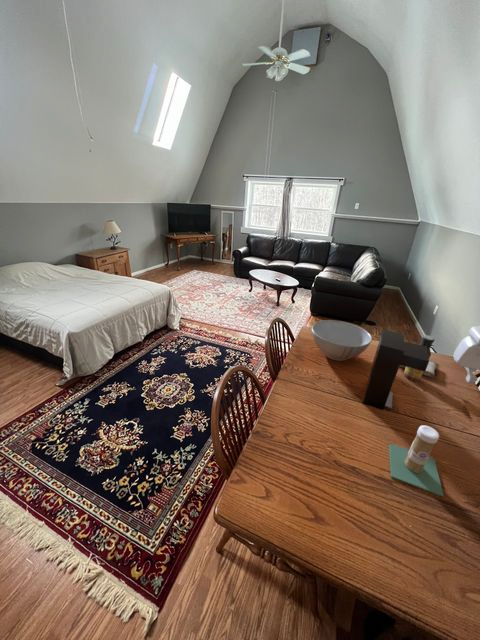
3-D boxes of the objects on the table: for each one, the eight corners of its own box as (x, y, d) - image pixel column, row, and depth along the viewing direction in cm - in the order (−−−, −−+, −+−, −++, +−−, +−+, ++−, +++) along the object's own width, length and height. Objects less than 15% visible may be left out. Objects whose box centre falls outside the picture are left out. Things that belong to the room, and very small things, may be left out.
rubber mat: (434, 459, 78) (434, 458, 78) (443, 497, 68) (443, 495, 68) (388, 444, 83) (389, 443, 83) (391, 477, 73) (391, 476, 73)
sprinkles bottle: (408, 472, 74) (424, 437, 68) (401, 458, 78) (415, 423, 72) (426, 474, 73) (443, 439, 68) (417, 459, 78) (433, 425, 72)
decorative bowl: (360, 377, 114) (367, 353, 109) (300, 357, 126) (304, 334, 121) (369, 350, 135) (375, 329, 130) (317, 335, 147) (320, 315, 142)
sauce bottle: (401, 376, 116) (415, 336, 108) (406, 371, 120) (420, 331, 111) (417, 384, 111) (434, 342, 103) (422, 378, 115) (439, 337, 107)
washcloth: (393, 353, 134) (395, 347, 132) (435, 367, 124) (438, 361, 122) (387, 362, 125) (389, 357, 124) (432, 379, 115) (435, 373, 114)
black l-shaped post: (406, 396, 104) (428, 339, 94) (407, 419, 93) (431, 358, 82) (366, 383, 110) (382, 329, 100) (362, 403, 99) (380, 345, 89)
